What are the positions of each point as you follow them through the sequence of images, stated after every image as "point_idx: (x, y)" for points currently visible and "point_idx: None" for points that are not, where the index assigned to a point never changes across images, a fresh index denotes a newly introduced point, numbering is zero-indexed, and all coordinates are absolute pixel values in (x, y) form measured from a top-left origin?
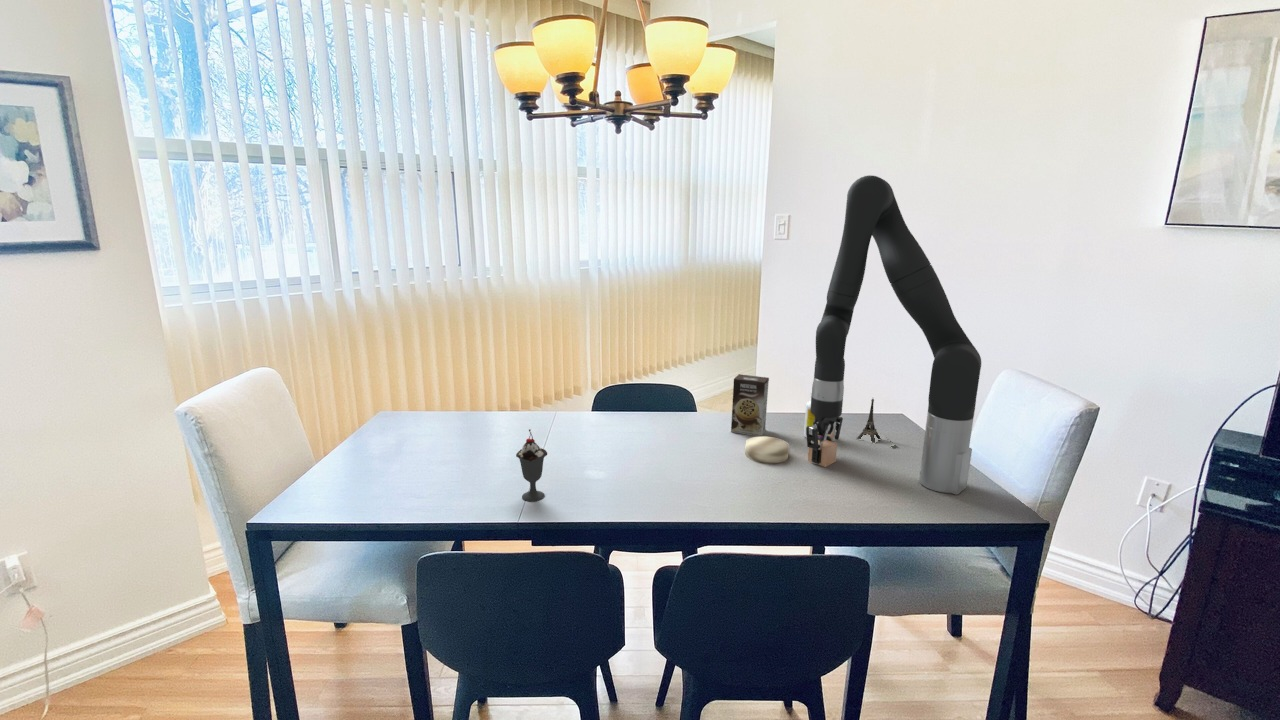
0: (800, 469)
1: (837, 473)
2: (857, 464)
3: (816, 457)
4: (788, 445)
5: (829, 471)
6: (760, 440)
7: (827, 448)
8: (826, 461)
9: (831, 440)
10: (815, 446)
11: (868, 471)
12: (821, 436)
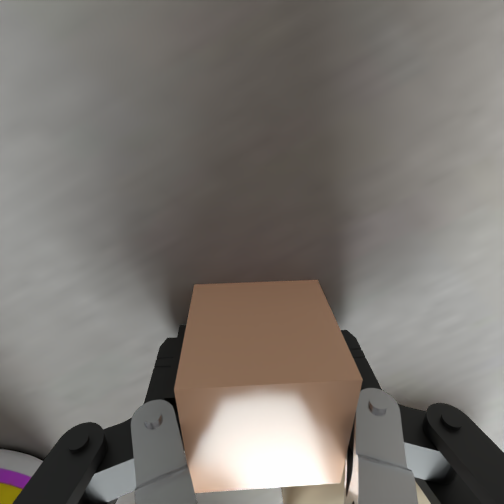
0: (437, 336)
1: (366, 182)
2: (109, 168)
3: (362, 355)
4: (340, 495)
5: (367, 232)
6: None
7: (355, 375)
8: (319, 300)
9: (180, 437)
10: (486, 437)
11: (153, 24)
12: (8, 479)
